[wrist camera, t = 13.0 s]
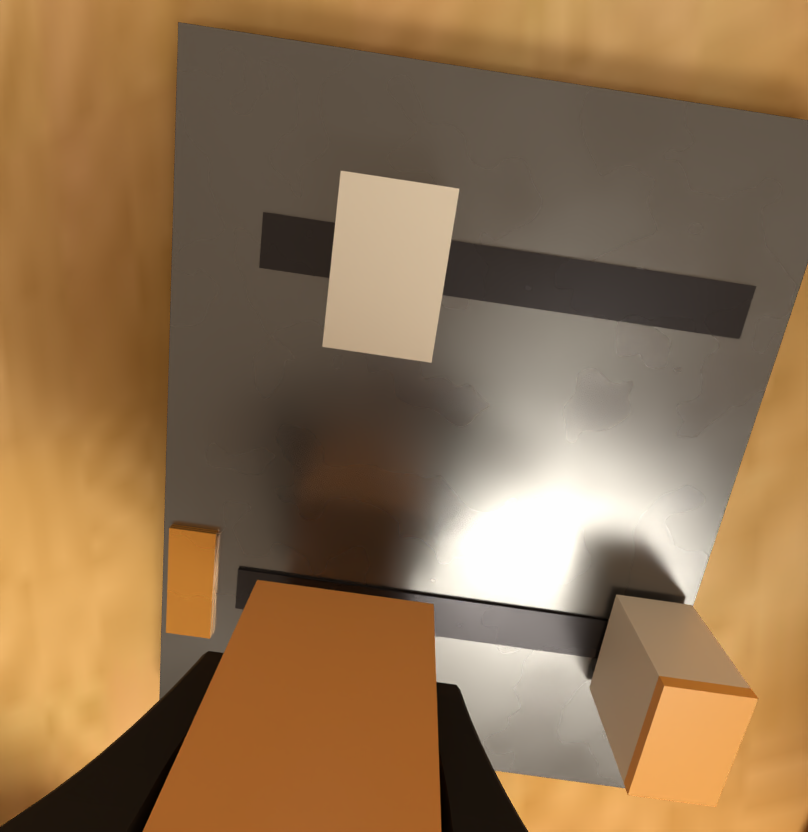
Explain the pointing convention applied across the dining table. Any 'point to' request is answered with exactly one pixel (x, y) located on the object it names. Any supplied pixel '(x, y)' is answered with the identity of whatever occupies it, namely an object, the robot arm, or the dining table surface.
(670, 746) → the block
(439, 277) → the block
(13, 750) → the dining table surface
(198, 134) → the panel
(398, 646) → the block
